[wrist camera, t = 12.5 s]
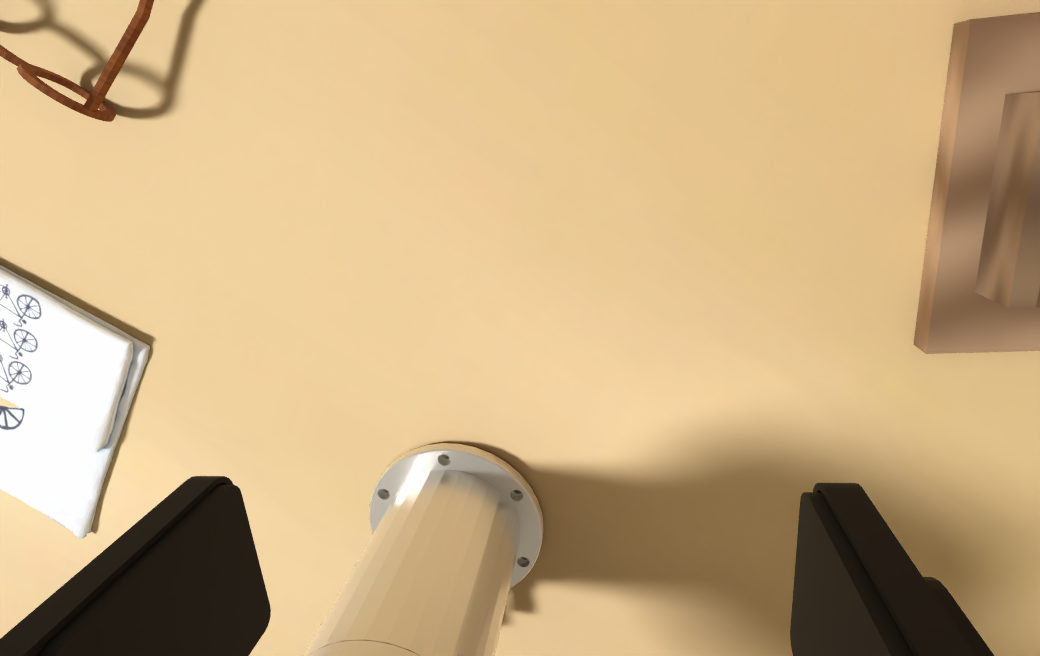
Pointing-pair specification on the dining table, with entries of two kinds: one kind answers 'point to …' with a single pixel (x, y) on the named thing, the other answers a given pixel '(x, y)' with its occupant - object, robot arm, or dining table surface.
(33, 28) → the dining table surface
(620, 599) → the dining table surface
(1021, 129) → the caddy
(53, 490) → the open book
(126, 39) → the glasses
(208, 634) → the robot arm
